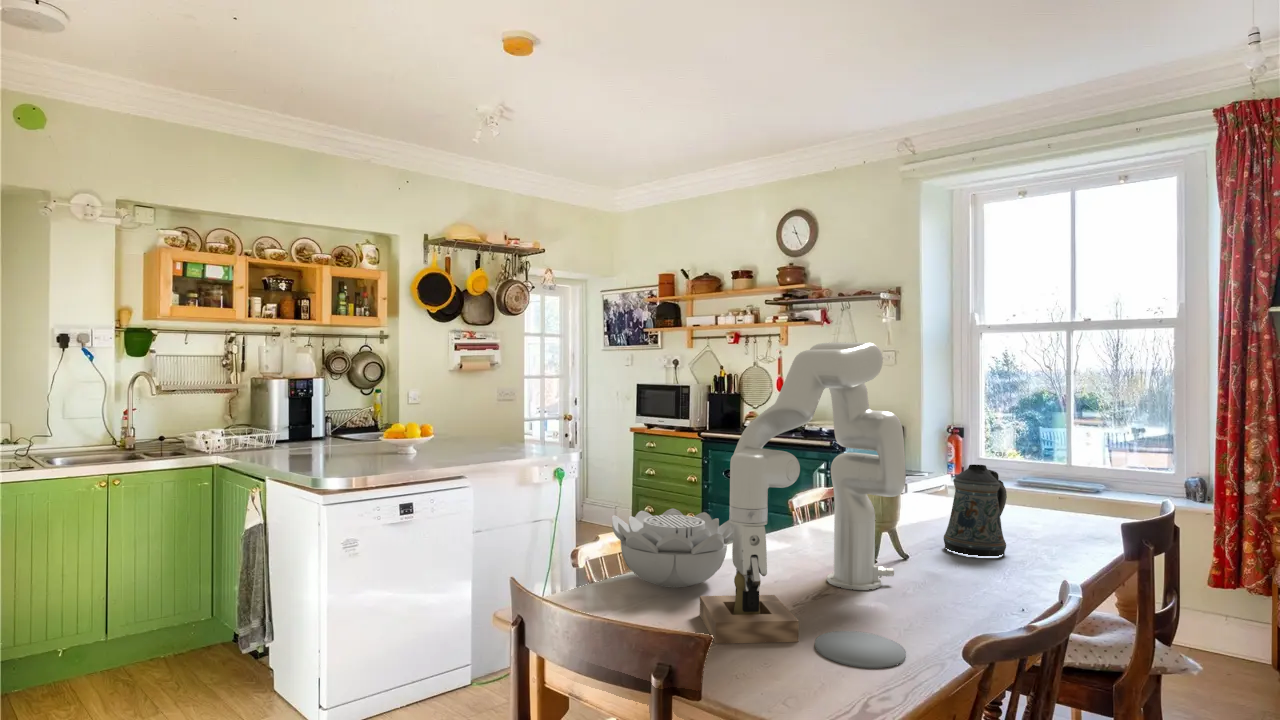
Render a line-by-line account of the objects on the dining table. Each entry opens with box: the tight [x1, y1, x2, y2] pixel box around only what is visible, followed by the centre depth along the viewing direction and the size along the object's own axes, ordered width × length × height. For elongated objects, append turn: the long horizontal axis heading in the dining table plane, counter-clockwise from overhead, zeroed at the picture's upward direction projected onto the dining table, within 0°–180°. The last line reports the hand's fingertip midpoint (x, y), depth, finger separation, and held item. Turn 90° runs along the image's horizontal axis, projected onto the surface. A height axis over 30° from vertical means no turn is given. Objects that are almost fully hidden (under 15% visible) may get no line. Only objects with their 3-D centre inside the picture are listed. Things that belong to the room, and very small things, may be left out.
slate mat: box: [814, 630, 907, 669], centre depth 136 cm, size 16×16×1 cm
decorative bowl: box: [611, 508, 734, 588], centre depth 178 cm, size 30×30×15 cm
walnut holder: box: [699, 594, 800, 645], centre depth 147 cm, size 16×16×4 cm
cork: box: [733, 572, 761, 615], centre depth 147 cm, size 6×6×11 cm
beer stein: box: [943, 464, 1008, 556], centre depth 215 cm, size 16×19×25 cm
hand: (746, 605), depth 147 cm, fingers closed on cork, 4 cm apart
